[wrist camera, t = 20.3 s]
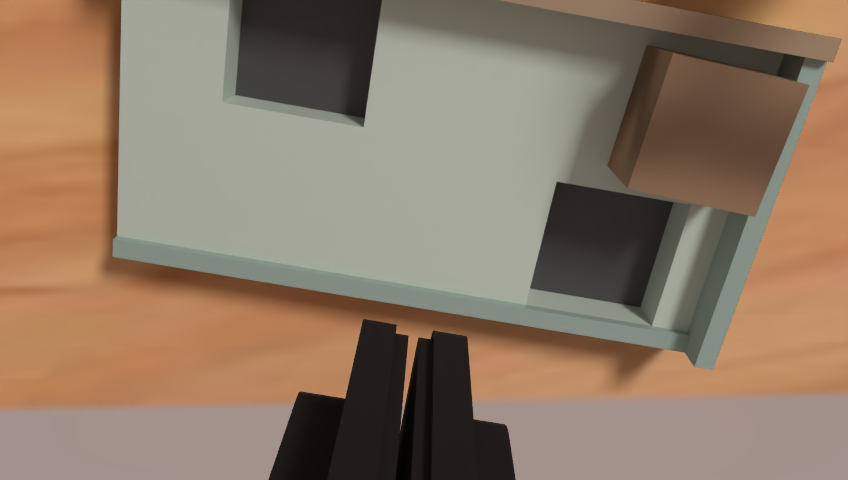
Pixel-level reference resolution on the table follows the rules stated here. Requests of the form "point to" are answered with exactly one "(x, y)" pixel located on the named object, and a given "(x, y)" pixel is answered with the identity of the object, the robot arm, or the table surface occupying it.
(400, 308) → the table surface
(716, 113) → the walnut block
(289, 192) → the board
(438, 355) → the robot arm
